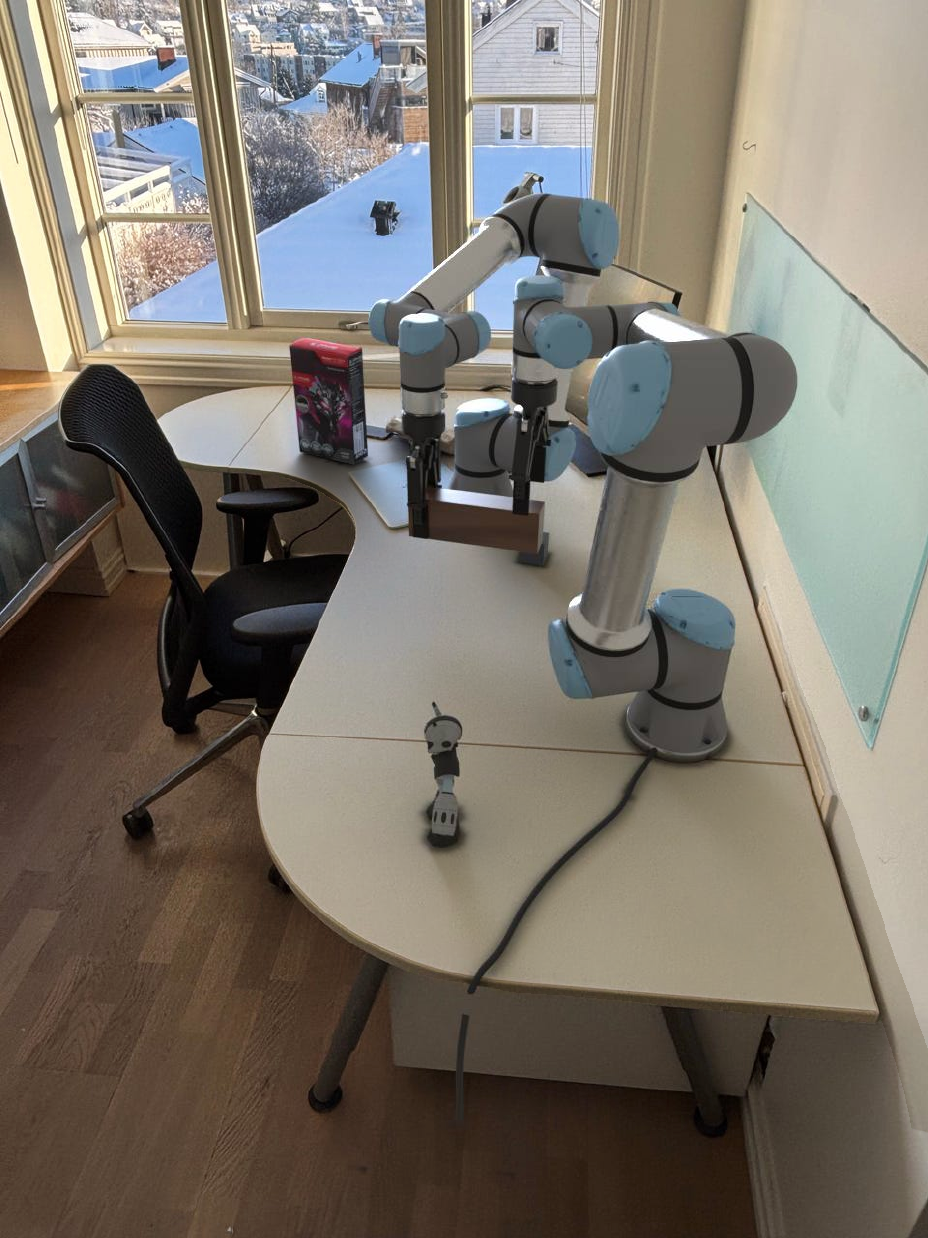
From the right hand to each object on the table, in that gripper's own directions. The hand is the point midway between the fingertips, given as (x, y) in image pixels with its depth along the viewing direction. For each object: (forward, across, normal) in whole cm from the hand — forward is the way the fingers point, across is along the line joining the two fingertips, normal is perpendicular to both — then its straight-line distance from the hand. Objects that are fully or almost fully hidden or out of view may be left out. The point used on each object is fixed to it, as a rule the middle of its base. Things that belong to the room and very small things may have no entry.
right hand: (528, 497), depth 161 cm
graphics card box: (+21, +54, +60) cm, 83 cm away
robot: (+23, -58, -1) cm, 62 cm away
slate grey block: (+22, +18, +2) cm, 28 cm away
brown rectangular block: (+10, 0, +10) cm, 14 cm away
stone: (+21, +66, +41) cm, 81 cm away
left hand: (+9, 0, +19) cm, 21 cm away
